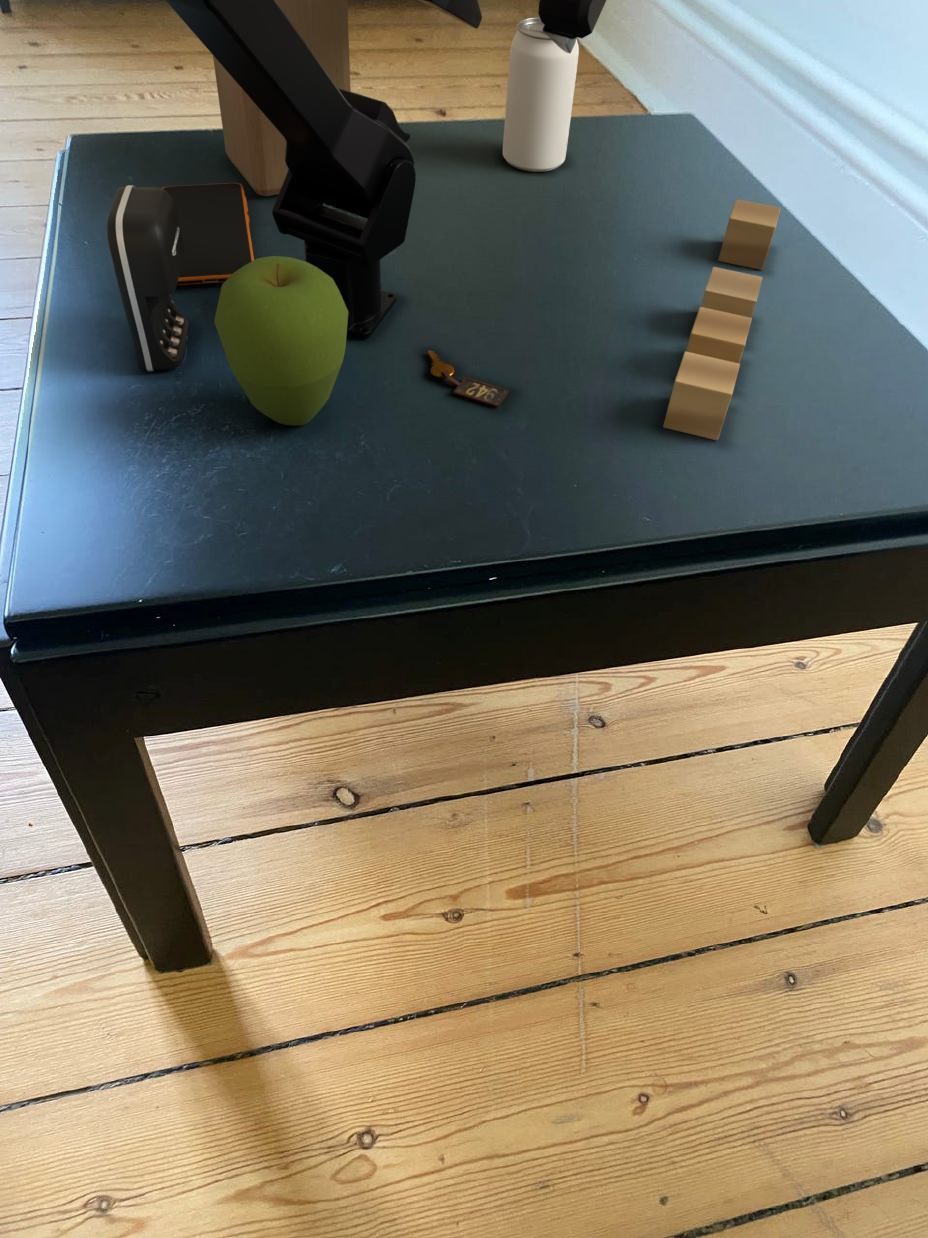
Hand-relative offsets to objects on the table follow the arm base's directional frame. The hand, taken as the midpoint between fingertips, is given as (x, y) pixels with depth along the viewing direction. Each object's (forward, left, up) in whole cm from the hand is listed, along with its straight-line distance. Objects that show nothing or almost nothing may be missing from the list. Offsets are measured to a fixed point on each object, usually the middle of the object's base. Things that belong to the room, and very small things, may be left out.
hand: (523, 34), depth 82 cm
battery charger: (-36, +16, -14) cm, 42 cm away
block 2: (-16, -23, -14) cm, 31 cm away
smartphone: (-20, +22, -14) cm, 32 cm away
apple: (-40, +4, -14) cm, 43 cm away
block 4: (-29, -23, -14) cm, 40 cm away
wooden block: (-5, +21, -14) cm, 25 cm away
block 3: (-23, -23, -14) cm, 35 cm away
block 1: (-3, -23, -14) cm, 27 cm away
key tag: (-31, -6, -14) cm, 35 cm away
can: (+8, 0, -14) cm, 16 cm away
